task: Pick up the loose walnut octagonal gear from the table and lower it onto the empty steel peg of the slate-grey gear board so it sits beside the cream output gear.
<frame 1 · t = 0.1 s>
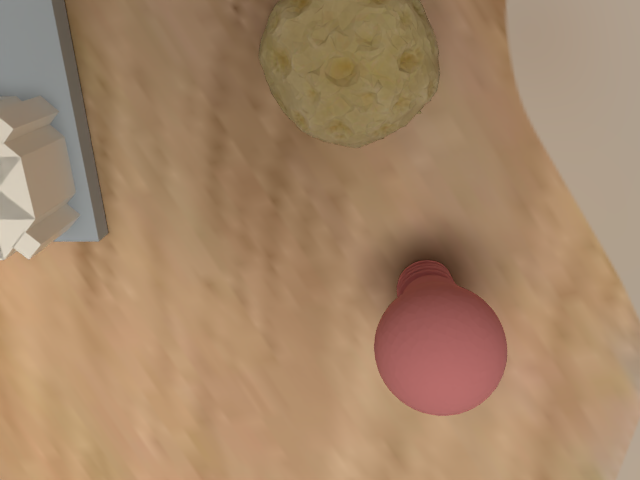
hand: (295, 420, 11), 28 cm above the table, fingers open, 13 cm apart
decorative item: (349, 51, 36), on the table
output gear: (5, 165, 39), resting on gear board
light bulb: (428, 278, 41), on the table
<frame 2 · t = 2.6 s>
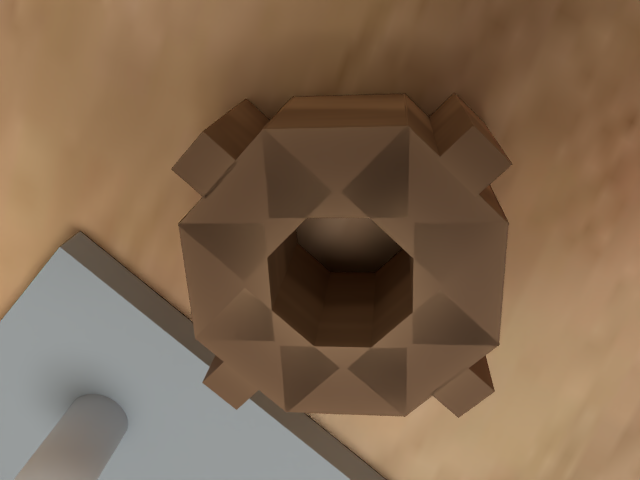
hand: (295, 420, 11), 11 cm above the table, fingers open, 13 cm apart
walnut gear: (351, 221, 21), on the table
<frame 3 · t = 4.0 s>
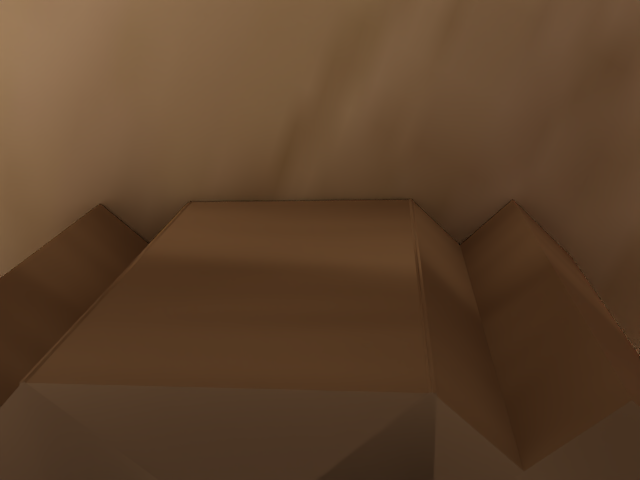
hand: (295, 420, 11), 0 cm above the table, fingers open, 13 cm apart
walnut gear: (312, 419, 11), on the table
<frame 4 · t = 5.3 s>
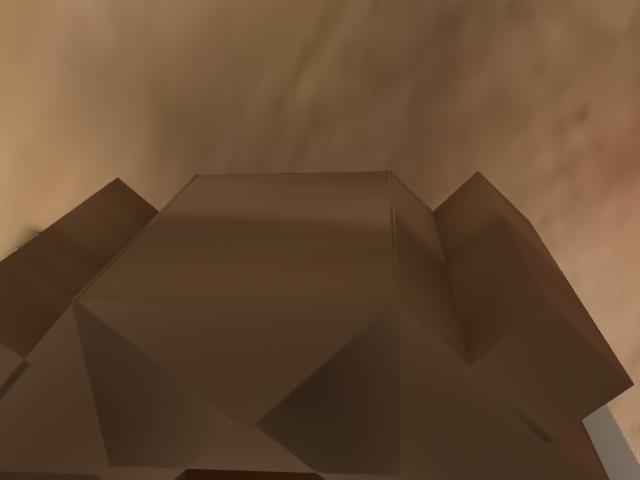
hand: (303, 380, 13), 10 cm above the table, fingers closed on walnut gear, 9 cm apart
walnut gear: (305, 371, 13), point 9 cm above the table, touching gripper
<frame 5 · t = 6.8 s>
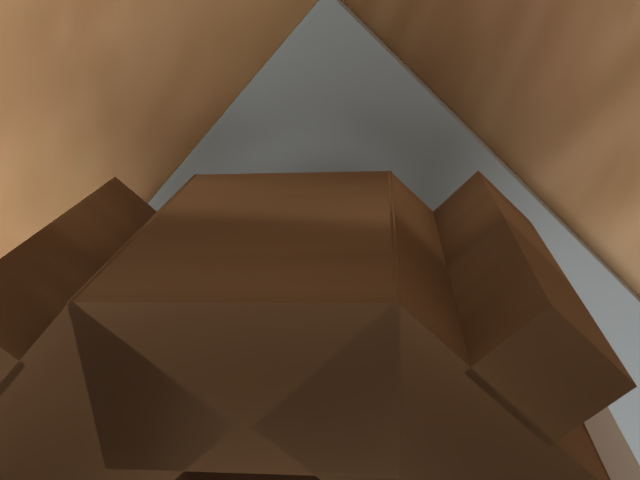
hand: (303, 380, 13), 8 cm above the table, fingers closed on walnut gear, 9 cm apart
gear board: (345, 376, 23), on the table
walnut gear: (304, 372, 13), point 8 cm above the table, touching gripper
when the fingers open (3 cm above the table, at t = 8.5 s): walnut gear drops 1 cm, resting on gear board.
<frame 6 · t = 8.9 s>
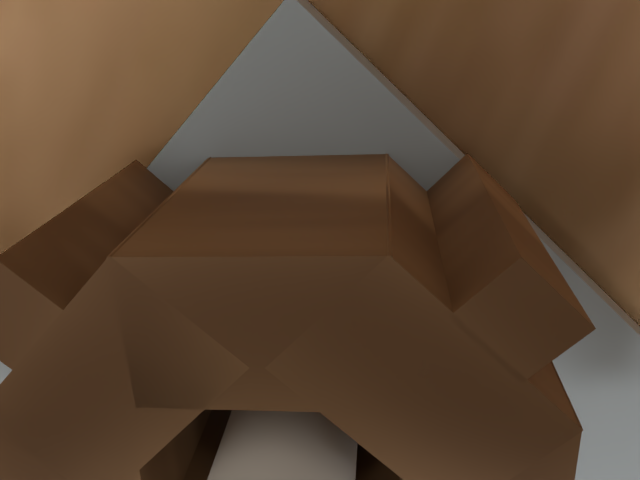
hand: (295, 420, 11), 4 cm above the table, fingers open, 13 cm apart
walnut gear: (308, 341, 14), point 1 cm above the table, touching gear board
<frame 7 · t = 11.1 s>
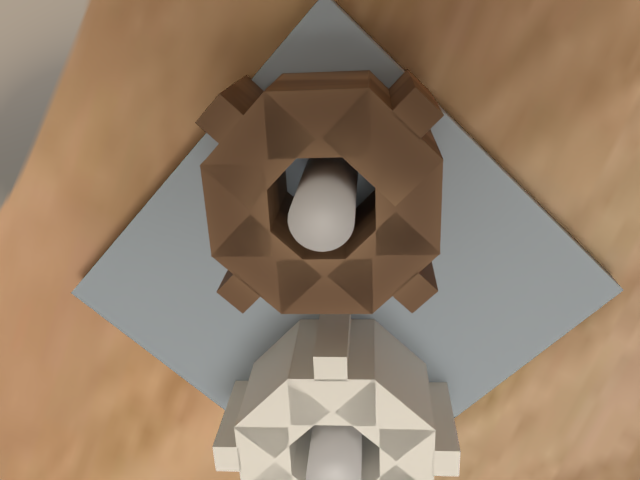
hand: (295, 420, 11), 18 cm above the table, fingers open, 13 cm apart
gear board: (337, 278, 31), on the table
output gear: (340, 392, 31), resting on gear board
walnut gear: (330, 172, 27), point 1 cm above the table, touching gear board
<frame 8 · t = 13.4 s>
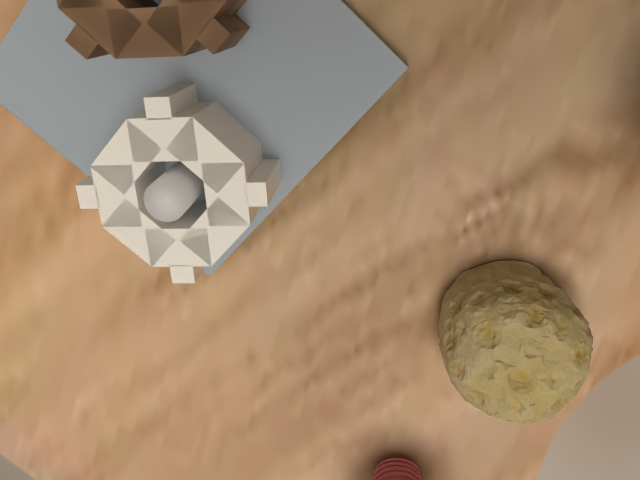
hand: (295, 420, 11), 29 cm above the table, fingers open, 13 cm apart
gear board: (190, 72, 38), on the table
decorative item: (501, 314, 42), on the table
output gear: (195, 171, 39), resting on gear board
light bulb: (399, 468, 48), on the table
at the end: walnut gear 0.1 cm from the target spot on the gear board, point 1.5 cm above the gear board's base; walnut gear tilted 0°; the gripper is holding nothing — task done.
